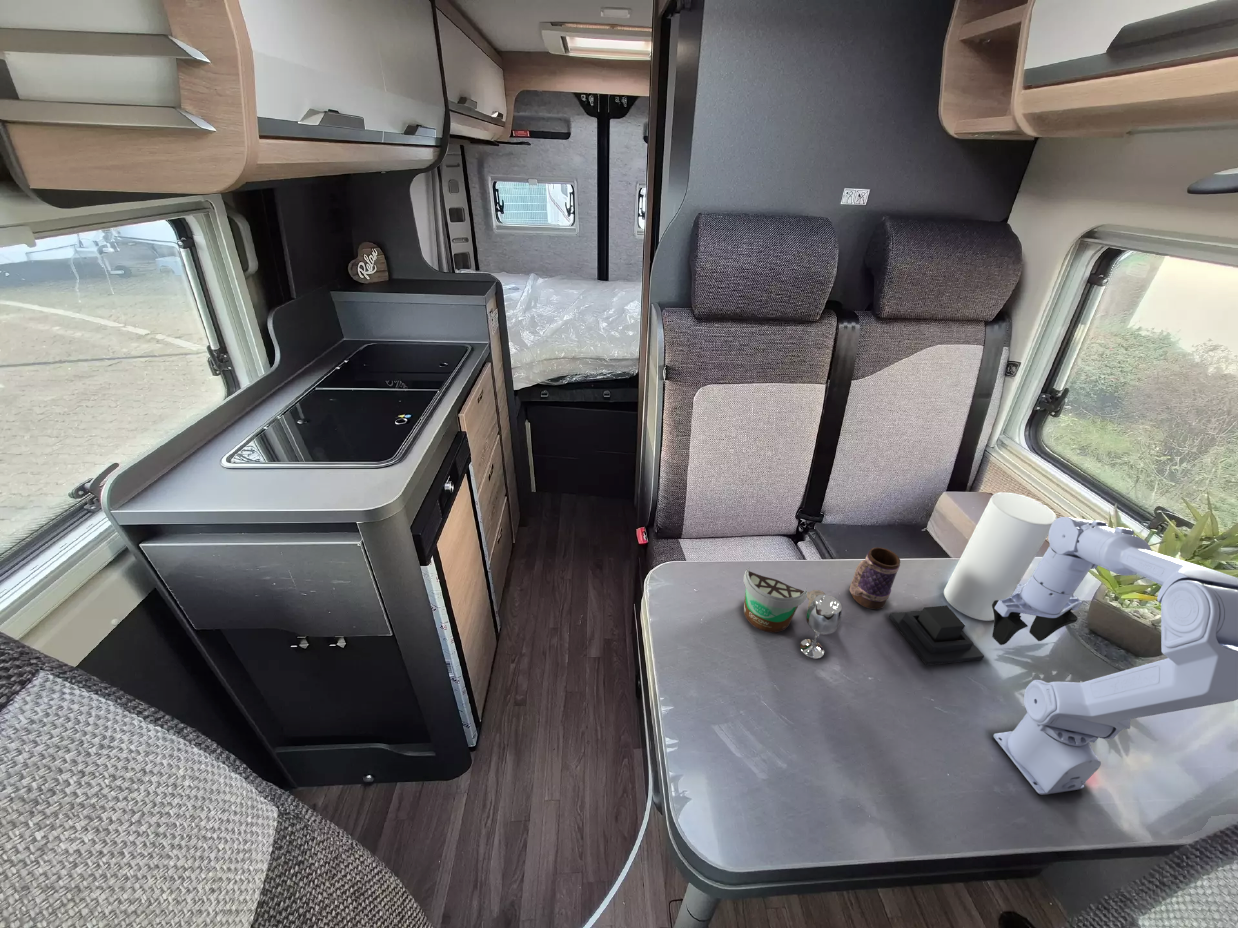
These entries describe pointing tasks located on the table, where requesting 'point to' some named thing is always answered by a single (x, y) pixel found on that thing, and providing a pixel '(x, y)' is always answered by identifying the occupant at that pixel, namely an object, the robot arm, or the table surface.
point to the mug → (875, 578)
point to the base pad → (928, 648)
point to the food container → (770, 602)
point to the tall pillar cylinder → (998, 553)
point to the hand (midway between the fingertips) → (1016, 638)
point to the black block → (941, 623)
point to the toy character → (813, 595)
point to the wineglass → (821, 623)
